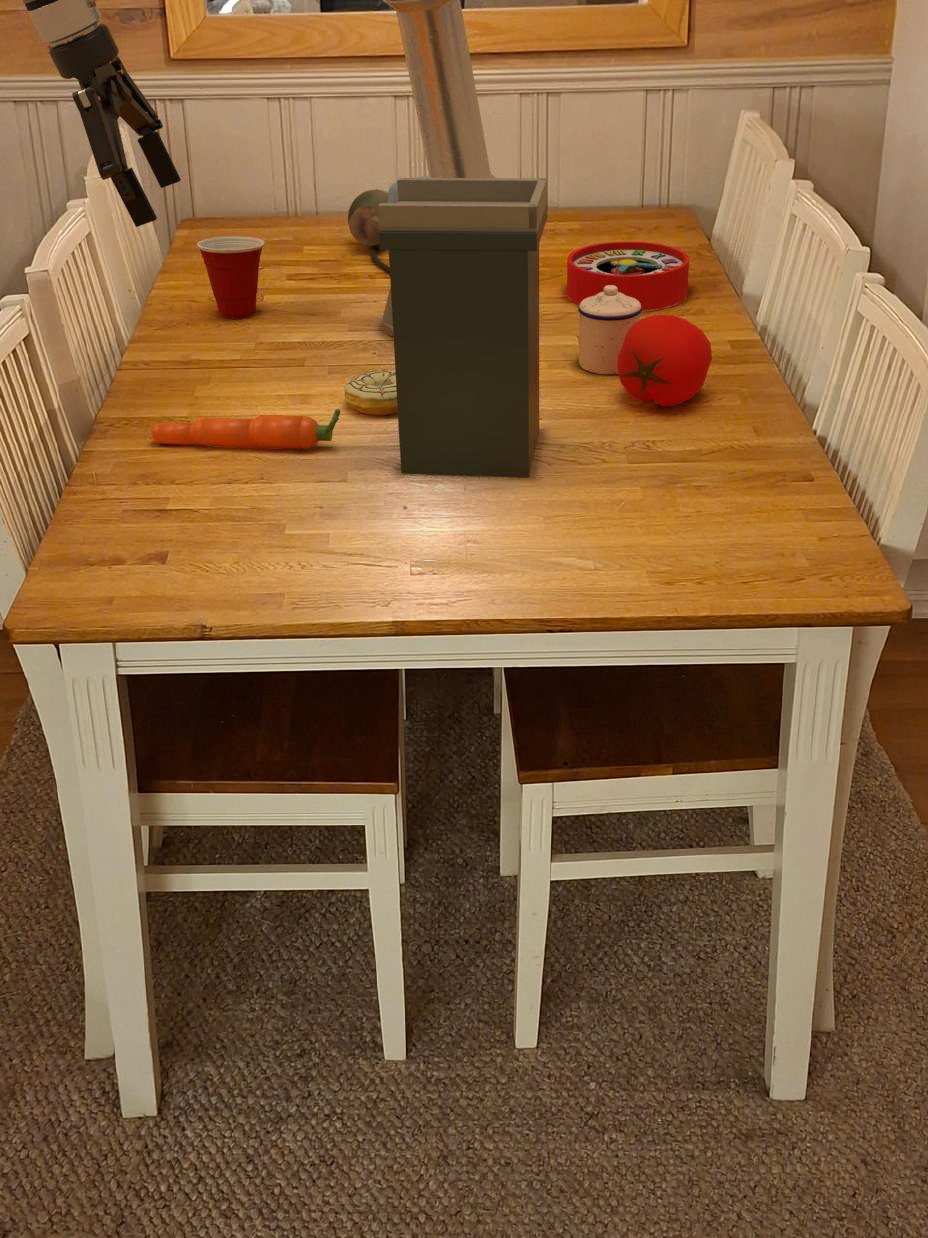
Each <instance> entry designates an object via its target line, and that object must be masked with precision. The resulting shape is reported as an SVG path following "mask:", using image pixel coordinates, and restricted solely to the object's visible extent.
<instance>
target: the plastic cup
mask: <svg viewBox="0 0 928 1238" xmlns="http://www.w3.org/2000/svg"><path fill="white" fill-rule="evenodd" d="M196 247H197V249H198V250H199V252H200V253H201V258H202V259H203V263H204V266H205V269H206V272H207V276H208V279H209V280H208V281H209V284H210V287H211V290H212V293H213V297H214V299H215V302H216V307H217V310H218V313H219V315H220V317H222V318H224V319H228V320H240V319H246V318H250V317H252V316H254V315H255V314H256V310H257V294H258V288H259V285H258V284H259V271H260V262H261V255H262V251H263V248H264V247H265V240H263V239H260V238H257V237H253V236H237V235H235V236H217V237H216V236H215V237H210V238H206V239H202V240H199V241H198V242H197V243H196Z"/></svg>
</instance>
